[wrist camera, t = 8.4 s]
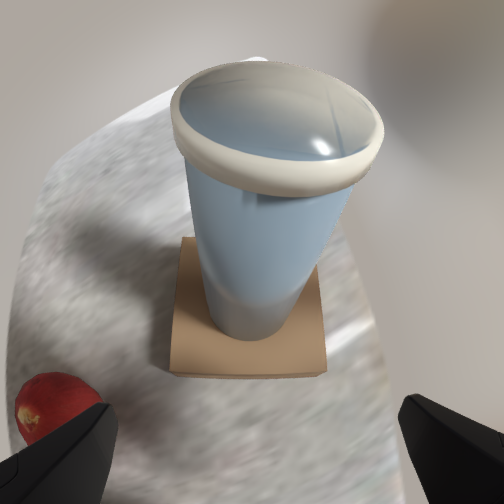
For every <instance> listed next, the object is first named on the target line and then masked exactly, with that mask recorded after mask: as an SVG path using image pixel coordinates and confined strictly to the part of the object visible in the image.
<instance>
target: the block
mask: <svg viewBox="0 0 504 504" xmlns="http://www.w3.org/2000/svg"><path fill="white" fill-rule="evenodd" d="M169 371H170V372H172V373H173V374H175V375H176V376H179V377H194V378H216V379H279V378H301V377H316V376H318V375H320V374H322V373H324V372H326V371H327V359H326V347H325V336H324V325H323V315H322V306H321V297H320V288H319V280H318V272H317V265H315V267H314V269H313V271H312V273H311V275H310V277H309V279H308V281H307V283H306V284H305V286H304V288H303V290H302V292H301V294H300V296H299V298H298V299H297V301H296V303H295V305H294V307H293V309H292V311H291V312H290V314H289V316H288V318H287V320H286V321H285V323H284V325H283V326H282V327H281V328H280V329H279V330H278V331H277V332H276V333H274V334H273V335H271V336H270V337H268V338H265V339H262V340H258V341H242V340H237V339H234V338H232V337H230V336H228V335H226V334H225V333H223V332H222V331H221V330H220V329H219V328H218V327H217V326H216V325H215V323H214V322H213V320H212V318H211V317H210V314H209V310H208V305H207V300H206V295H205V289H204V284H203V278H202V273H201V267H200V261H199V255H198V249H197V243H196V237H182V244H181V251H180V259H179V267H178V276H177V285H176V294H175V304H174V314H173V326H172V338H171V352H170V368H169Z"/></svg>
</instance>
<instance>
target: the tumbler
mask: <svg viewBox="0 0 504 504" xmlns="http://www.w3.org/2000/svg"><path fill="white" fill-rule="evenodd" d="M170 108H171V118H172V126H173V134H174V139H175V142H176V145H177V147H178V149H179V151H180V152H181V154H182V155H183V156H184V159H185V167H186V175H187V182H188V190H189V197H190V204H191V211H192V218H193V224H194V231H195V237H196V243H197V249H198V255H199V261H200V267H201V273H202V278H203V284H204V289H205V295H206V300H207V305H208V310H209V314H210V317H211V318H212V320H213V322H214V323H215V325H216V326H217V327H218V328H219V329H220V330H221V331H222V332H223V333H225V334H226V335H228V336H230V337H232V338H234V339H237V340H242V341H258V340H262V339H265V338H268V337H270V336H271V335H273V334H274V333H276V332H277V331H278V330H279V329H280V328H281V327H282V326H283V325H284V323H285V321H286V320H287V318H288V316H289V314H290V312H291V311H292V309H293V307H294V305H295V303H296V301H297V299H298V298H299V296H300V294H301V292H302V290H303V288H304V286H305V284H306V283H307V281H308V279H309V277H310V275H311V273H312V271H313V269H314V267H315V265H316V263H317V261H318V259H319V257H320V255H321V253H322V251H323V249H324V247H325V245H326V243H327V241H328V239H329V237H330V235H331V233H332V231H333V229H334V227H335V225H336V223H337V221H338V219H339V217H340V215H341V212H342V210H343V208H344V206H345V204H346V202H347V200H348V197H349V195H350V193H351V191H352V189H353V187H354V184H355V183H357V182H358V181H359V180H360V179H362V178H363V177H364V176H365V175H366V173H367V172H368V171H369V170H370V168H371V165H372V163H373V161H374V159H375V156H376V155H377V152H378V150H379V148H380V145H381V143H382V141H383V137H384V126H383V123H382V120H381V117H380V116H379V114H378V112H377V110H376V109H375V108H374V107H373V105H372V104H371V103H370V102H369V101H368V100H367V99H366V98H365V97H364V96H363V95H361V94H360V93H359V92H357V91H356V90H355V89H353V88H352V87H350V86H349V85H347V84H345V83H343V82H342V81H340V80H338V79H336V78H334V77H331V76H329V75H327V74H324V73H322V72H319V71H316V70H313V69H310V68H306V67H302V66H298V65H293V64H288V63H281V62H271V61H245V62H235V63H228V64H224V65H219V66H216V67H212V68H209V69H206V70H204V71H201V72H199V73H197V74H195V75H193V76H192V77H190V78H189V79H187V80H186V81H185V82H183V83H182V84H181V85H180V86H179V87H178V88H177V90H176V91H175V92H174V94H173V96H172V99H171V103H170Z"/></svg>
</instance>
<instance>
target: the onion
mask: <svg viewBox="0 0 504 504" xmlns="http://www.w3.org/2000/svg"><path fill="white" fill-rule="evenodd" d="M97 402H103V401H102V399H101V397H100V396H99V394H98V393H97V392H96V391H95V390H94V389H93V388H91V387H90V386H89V385H87V384H86V383H85V382H84V381H82V380H81V379H80V378H79V377H75V376H72V375H68V374H65V373H60V372H49V373H41V374H38V375H36V376H35V377H33V378H32V379H30V380H29V381H27V382H26V383H25V384H24V385H23V386H22V388H21V390H20V392H19V394H18V396H17V398H16V400H15V418H16V421H17V425H18V428H19V431H20V433H21V434H22V436H23V438H24V440H25V441H26V443H27V445H28V446H29V445H31V444H33V443H34V442H36V441H37V440H39V439H41V438H42V437H44V436H45V435H47V434H49V433H50V432H52V431H53V430H55V429H57V428H58V427H60V426H61V425H63V424H64V423H66V422H67V421H69V420H71V419H72V418H74V417H75V416H77V415H78V414H80V413H81V412H83V411H84V410H86V409H87V408H89V407H90V406H92V405H93V404H95V403H97Z"/></svg>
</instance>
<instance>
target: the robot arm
mask: <svg viewBox="0 0 504 504" xmlns="http://www.w3.org/2000/svg"><path fill="white" fill-rule="evenodd" d="M398 421H399V424H400V427H401V431H402V434H403V437H404V440H405V443H406V447H407V450H408V453H409V456H410V458H411V461H412V463H413V465H414V468H415V470H416V473H417V475H418V477H419V480H420V482H421V485H422V487H423V490H424V492H425V495H426V497H427V500H428V502H429V504H504V434H503V433H501V432H497V431H496V430H494V429H491V428H489V427H487V426H485V425H482V424H480V423H478V422H476V421H474V420H471V419H469V418H467V417H465V416H463V415H461V414H459V413H456V412H454V411H452V410H450V409H448V408H446V407H444V406H442V405H440V404H438V403H436V402H434V401H432V400H430V399H428V398H425V397H424V396H422V395H420V394H412V395H408V396H407V397H405V399H404V401H403V403H402V406H401V408H400V411H399V413H398ZM117 431H118V421H117V418H116V416H115V413H114V410H113V407H112V405H111V404H109V403H105V402H97V403H95V404H93V405H92V406H90V407H89V408H87V409H86V410H84V411H83V412H81V413H80V414H78V415H77V416H75V417H74V418H72V419H71V420H69V421H67V422H66V423H64V424H63V425H61V426H60V427H58V428H57V429H55V430H53V431H52V432H50V433H49V434H47V435H45V436H44V437H42V438H41V439H39V440H37V441H36V442H34V443H33V444H31V445H29V446H28V447H26V448H24V449H23V450H21V451H20V452H19V453H16V454H14V455H13V456H11V457H9V458H8V459H6V460H4V461H2V462H1V463H0V504H100V502H101V499H102V495H103V492H104V488H105V485H106V482H107V478H108V475H109V472H110V468H111V463H112V458H113V452H114V447H115V441H116V436H117Z"/></svg>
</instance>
